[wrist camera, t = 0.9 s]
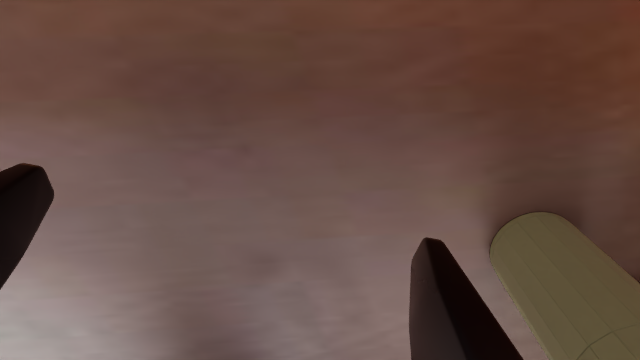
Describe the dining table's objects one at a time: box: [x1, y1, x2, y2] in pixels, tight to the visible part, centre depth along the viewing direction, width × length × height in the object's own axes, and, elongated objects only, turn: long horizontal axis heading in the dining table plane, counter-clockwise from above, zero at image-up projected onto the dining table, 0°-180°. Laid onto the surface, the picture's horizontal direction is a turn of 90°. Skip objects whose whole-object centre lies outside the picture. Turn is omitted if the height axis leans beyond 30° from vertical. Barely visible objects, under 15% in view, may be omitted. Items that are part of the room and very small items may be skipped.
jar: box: [490, 212, 640, 360], centre depth 22 cm, size 6×6×13 cm
